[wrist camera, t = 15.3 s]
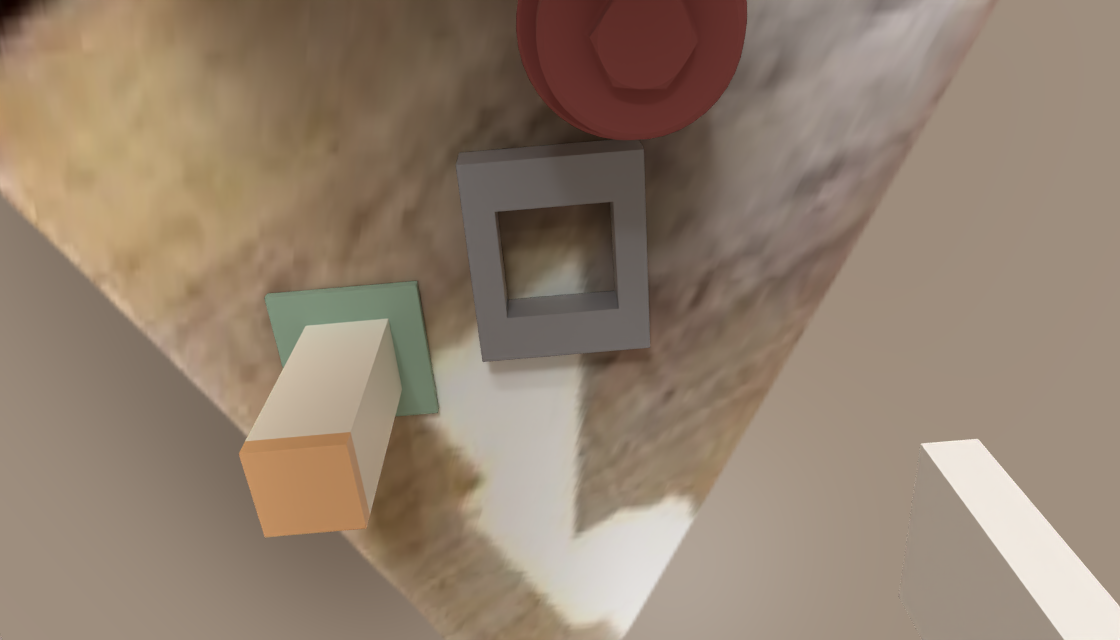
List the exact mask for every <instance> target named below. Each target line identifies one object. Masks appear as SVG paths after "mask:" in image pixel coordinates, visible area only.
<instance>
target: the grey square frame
mask: <svg viewBox="0 0 1120 640" xmlns="http://www.w3.org/2000/svg"><path fill="white" fill-rule="evenodd" d="M456 171H457V178H458V186H459V193H460V200H461V208H462V215H463V222H464V230H465V237H466V244H467V251H468V259H469V266H470V273H471V281H472V288H473V295H474V303H475V310H476V317H477V324H478V332H479V339H480V346H481V354H482V361H483V362H487V361H499V360H510V359H522V358H534V357H545V356H557V355H569V354H581V353H592V352H604V351H616V350H627V349H639V348H650V326H649V294H648V263H647V231H646V200H645V168H644V148H643V146H642V144H641V142H640V140H615V139H613V140H602V141H590V142H578V143H567V144H555V145H543V146H532V147H520V148H509V149H497V150H485V151H474V152H462V153H459V155H458V159H457V162H456ZM604 202H610V211H611V230H612V249H613V268H614V288H615V291H605V292H593V293H581V294H570V295H558V296H546V297H534V298H523V299H511V300H508V296H507V288H506V279H505V271H504V262H503V253H502V245H501V236H500V228H499V219H498V211H510V210H522V209H533V208H545V207H557V206H568V205H580V204H592V203H604Z"/></svg>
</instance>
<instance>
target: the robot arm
mask: <svg viewBox="0 0 1120 640" xmlns="http://www.w3.org/2000/svg"><path fill="white" fill-rule="evenodd" d="M899 598H900V600H901V602H902V604H903V606H904V607H905V609H906V611H907V613H908V615H909V617H910V619H911V620H912V622H913V624H914V626H915V628H916V630H917V631H918V633H919V635H920V637H921V639H922V640H1120V607H1119V606H1118V604H1117V603H1116V602H1115V601H1114V599H1113V598H1112V597H1111V596H1110V595H1109V593H1108V592H1107V591H1106V590H1105V589H1104V588H1103V586H1102V585H1101V584H1100V583H1099V582H1098V581H1097V579H1096V578H1095V577H1094V576H1093V575H1092V573H1091V572H1090V571H1089V570H1088V569H1087V567H1086V566H1085V565H1084V564H1083V563H1082V562H1081V561H1080V559H1079V558H1078V557H1077V556H1076V554H1075V553H1074V552H1073V551H1072V550H1071V549H1070V547H1069V546H1068V545H1067V544H1066V543H1065V541H1064V540H1063V539H1062V538H1061V537H1060V535H1059V534H1058V533H1057V532H1056V531H1055V530H1054V528H1053V527H1052V526H1051V525H1050V524H1049V522H1048V521H1047V520H1046V519H1045V518H1044V517H1043V515H1042V514H1041V513H1040V512H1039V511H1038V510H1037V508H1036V507H1035V506H1034V505H1033V504H1032V502H1031V501H1030V500H1029V499H1028V498H1027V496H1026V495H1025V494H1024V493H1023V492H1022V491H1021V490H1020V488H1019V487H1018V486H1017V485H1016V483H1015V482H1014V481H1013V480H1012V479H1011V478H1010V476H1009V475H1008V474H1007V473H1006V472H1005V470H1004V469H1003V468H1002V467H1001V466H1000V465H999V463H998V462H997V461H996V460H995V459H994V458H993V456H992V455H991V454H990V453H989V451H988V450H987V449H986V448H985V447H984V446H983V445H982V443H981V442H980V441H979V440H978V439H970V440H959V441H947V442H935V443H923V444H921V445H920V452H919V459H918V466H917V472H916V480H915V487H914V493H913V500H912V507H911V514H910V521H909V528H908V534H907V541H906V548H905V555H904V562H903V569H902V576H901V583H900V590H899ZM0 640H3V639H2V637H1V635H0Z"/></svg>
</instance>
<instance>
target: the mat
mask: <svg viewBox="0 0 1120 640" xmlns="http://www.w3.org/2000/svg"><path fill="white" fill-rule="evenodd" d="M265 302H266V306H267V310H268V314H269V317H270V321H271V325H272V329H273V333H274V336H275V340H276V344H277V348H278V352H279V355H280V359H281V363H282V367H283V368H284V366H285V364H286V362H287V361H288V359H289V357H290V355H291V353H292V351H293V349H294V347H295V345H296V343H297V341H298V339H299V338H300V336H301V334H302V332H303V330H304V328H305V326H309V325H320V324H332V323H343V322H354V321H365V320H377V319H389V325H390V330H391V335H392V340H393V345H394V350H395V355H396V361H397V366H398V371H399V376H400V381H401V386H402V392H401V395H400V399H399V403H398V407H397V411H396V415H395V416H406V415H418V414H430V413H438V409H439V406H438V400H437V394H436V389H435V383H434V377H433V371H432V365H431V359H430V353H429V347H428V341H427V335H426V330H425V324H424V318H423V312H422V306H421V300H420V294H419V288H418V282H417V281H410V282H398V283H386V284H375V285H363V286H351V287H340V288H328V289H316V290H305V291H293V292H281V293H270V294H267V295H266V296H265Z"/></svg>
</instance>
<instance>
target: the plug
mask: <svg viewBox="0 0 1120 640" xmlns="http://www.w3.org/2000/svg"><path fill="white" fill-rule="evenodd" d="M401 392H402V386H401V381H400V376H399V371H398V366H397V361H396V355H395V350H394V345H393V340H392V335H391V330H390V325H389V319H377V320H365V321H354V322H343V323H332V324H320V325H309V326H305V328H304V330H303V332H302V334H301V336H300V338H299V339H298V341H297V343H296V345H295V347H294V349H293V351H292V353H291V355H290V357H289V359H288V361H287V362H286V364H285V366H284V368H283V370H282V372H281V374H280V376H279V378H278V380H277V382H276V384H275V385H274V387H273V389H272V391H271V393H270V395H269V397H268V399H267V401H266V403H265V405H264V407H263V408H262V410H261V412H260V414H259V416H258V418H257V420H256V422H255V424H254V426H253V428H252V430H251V431H250V433H249V435H248V437H247V439H246V441H245V443H244V445H243V447H242V449H241V451H240V452H239V456H240V459H241V462H242V465H243V469H244V472H245V475H246V478H247V482H248V485H249V488H250V491H251V494H252V498H253V501H254V504H255V507H256V510H257V514H258V517H259V520H260V523H261V527H262V529H263V533H264V536H265V537H274V536H285V535H297V534H308V533H319V532H331V531H342V530H354V529H365V528H367V525H368V521H369V517H370V513H371V509H372V505H373V501H374V497H375V494H376V490H377V486H378V482H379V478H380V474H381V470H382V466H383V462H384V458H385V454H386V450H387V446H388V443H389V439H390V435H391V431H392V427H393V423H394V419H395V415H396V411H397V407H398V403H399V399H400V395H401Z"/></svg>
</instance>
